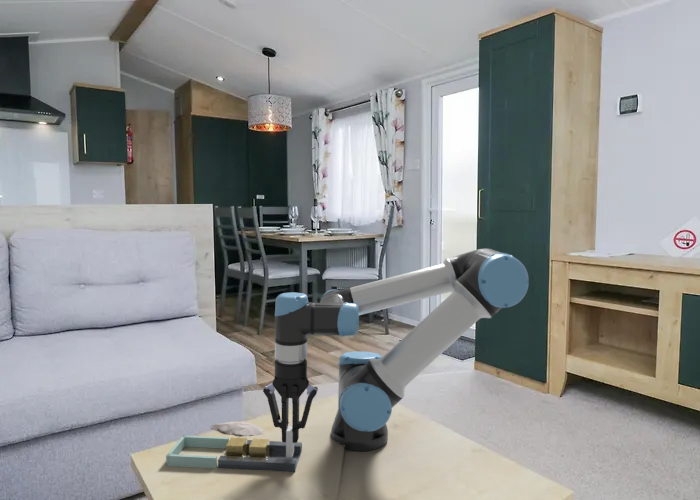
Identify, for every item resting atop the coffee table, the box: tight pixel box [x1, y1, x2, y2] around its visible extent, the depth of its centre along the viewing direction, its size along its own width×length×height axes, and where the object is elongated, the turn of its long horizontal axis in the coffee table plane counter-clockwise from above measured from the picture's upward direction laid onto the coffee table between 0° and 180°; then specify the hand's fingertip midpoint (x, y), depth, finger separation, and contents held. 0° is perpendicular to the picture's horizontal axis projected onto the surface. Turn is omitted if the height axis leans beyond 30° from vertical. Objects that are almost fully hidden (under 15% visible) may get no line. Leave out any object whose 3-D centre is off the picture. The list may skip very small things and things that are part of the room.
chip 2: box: [249, 438, 270, 458], centre depth 121 cm, size 4×4×4 cm
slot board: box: [217, 439, 303, 473], centre depth 121 cm, size 18×10×3 cm, turn 86°
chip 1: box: [225, 437, 248, 457], centre depth 121 cm, size 4×4×4 cm
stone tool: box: [210, 421, 265, 437], centre depth 136 cm, size 8×3×15 cm
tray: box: [165, 435, 230, 469], centre depth 122 cm, size 12×10×3 cm
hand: (290, 454), depth 120 cm, fingers closed
